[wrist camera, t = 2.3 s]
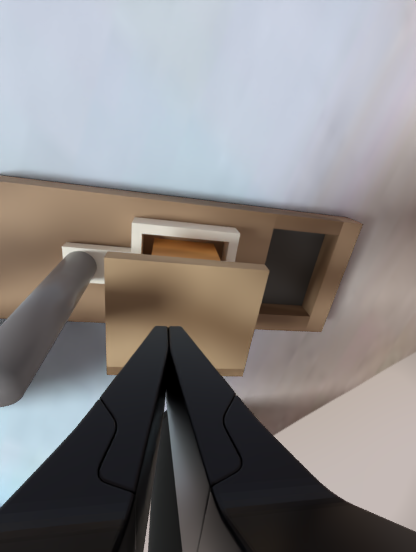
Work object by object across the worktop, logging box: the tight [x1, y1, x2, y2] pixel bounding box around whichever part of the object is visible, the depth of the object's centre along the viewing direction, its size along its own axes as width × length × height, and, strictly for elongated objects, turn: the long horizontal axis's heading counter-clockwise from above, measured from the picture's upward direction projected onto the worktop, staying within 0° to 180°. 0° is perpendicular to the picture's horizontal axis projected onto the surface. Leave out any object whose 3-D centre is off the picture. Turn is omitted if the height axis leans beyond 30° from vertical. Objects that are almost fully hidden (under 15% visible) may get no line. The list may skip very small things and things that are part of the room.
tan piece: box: [0, 175, 363, 376], centre depth 18 cm, size 10×25×8 cm, turn 82°
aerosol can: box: [148, 411, 182, 552], centre depth 21 cm, size 8×8×20 cm
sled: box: [0, 217, 240, 407], centre depth 14 cm, size 7×11×10 cm, turn 82°
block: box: [152, 238, 221, 261], centre depth 17 cm, size 4×4×4 cm
